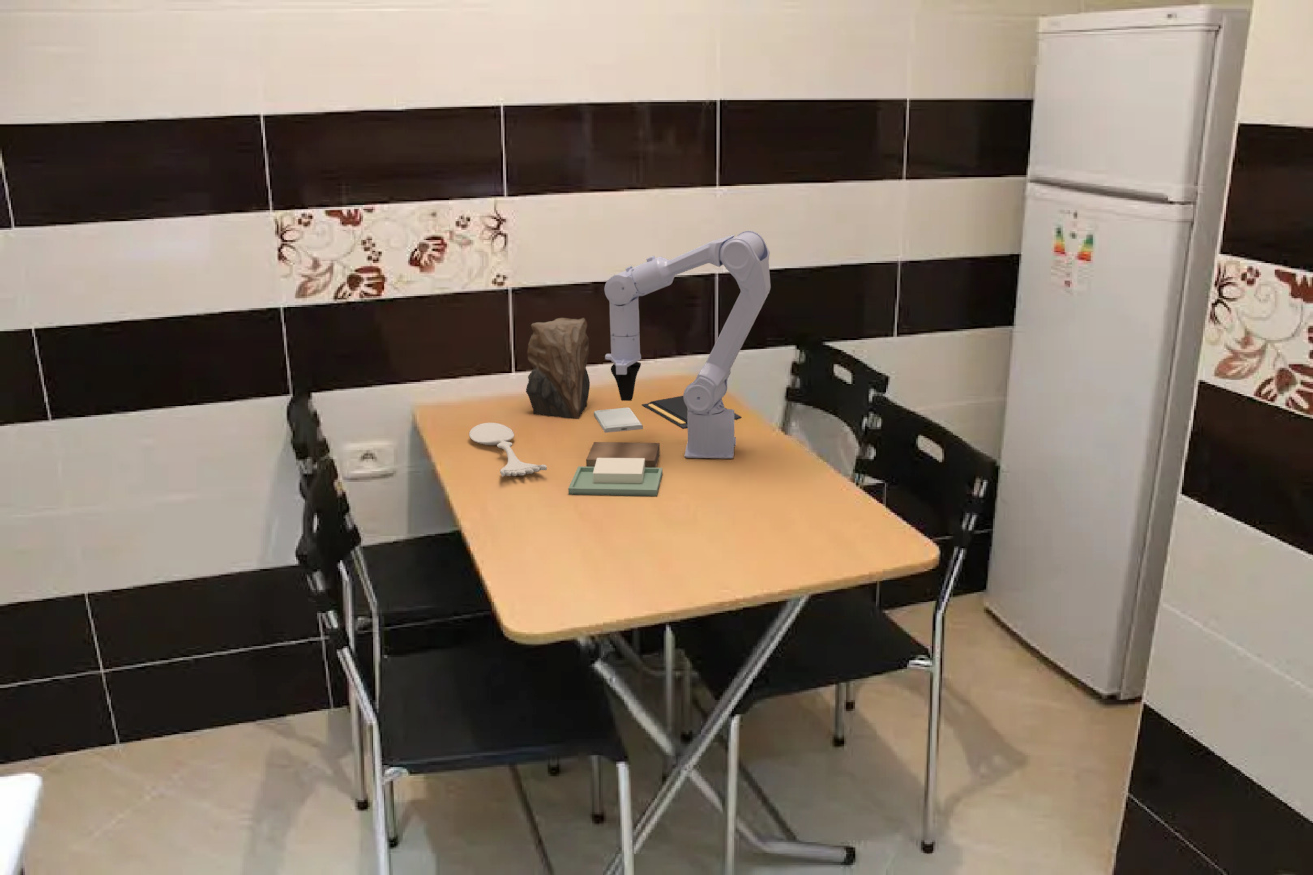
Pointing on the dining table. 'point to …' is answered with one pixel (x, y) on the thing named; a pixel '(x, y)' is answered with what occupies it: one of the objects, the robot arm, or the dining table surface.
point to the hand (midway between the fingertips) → (626, 399)
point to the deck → (624, 452)
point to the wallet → (673, 410)
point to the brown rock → (559, 368)
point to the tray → (615, 484)
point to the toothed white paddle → (503, 447)
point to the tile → (619, 470)
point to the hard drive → (617, 420)
